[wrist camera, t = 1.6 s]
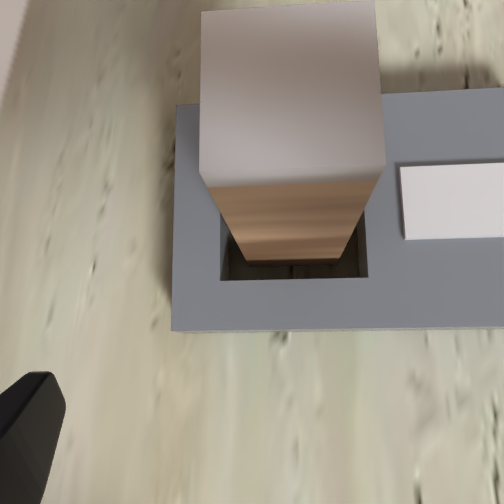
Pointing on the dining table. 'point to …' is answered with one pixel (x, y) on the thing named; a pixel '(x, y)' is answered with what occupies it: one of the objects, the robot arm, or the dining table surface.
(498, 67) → the dining table surface
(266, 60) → the plug
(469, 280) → the socket block
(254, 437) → the dining table surface
